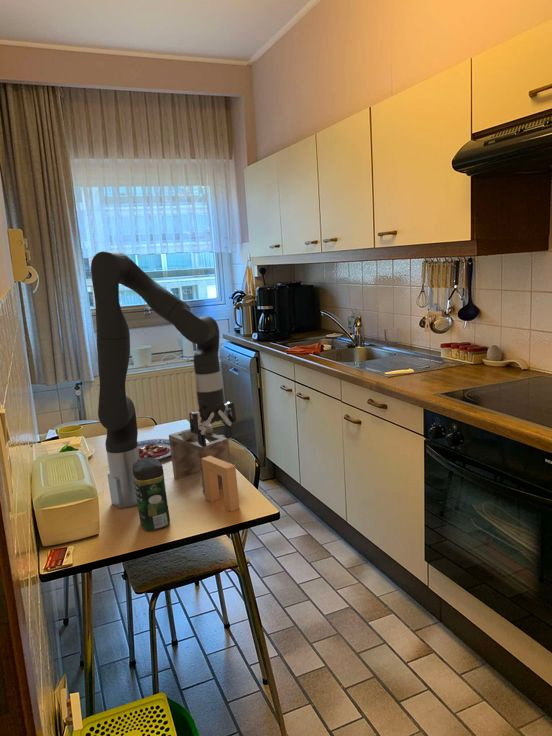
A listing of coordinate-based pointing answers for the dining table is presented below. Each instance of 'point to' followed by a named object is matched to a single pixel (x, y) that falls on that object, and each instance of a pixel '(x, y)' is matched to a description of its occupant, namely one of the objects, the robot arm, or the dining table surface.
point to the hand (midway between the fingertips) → (215, 442)
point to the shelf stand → (196, 452)
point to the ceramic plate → (154, 448)
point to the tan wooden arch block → (229, 481)
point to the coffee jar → (151, 493)
